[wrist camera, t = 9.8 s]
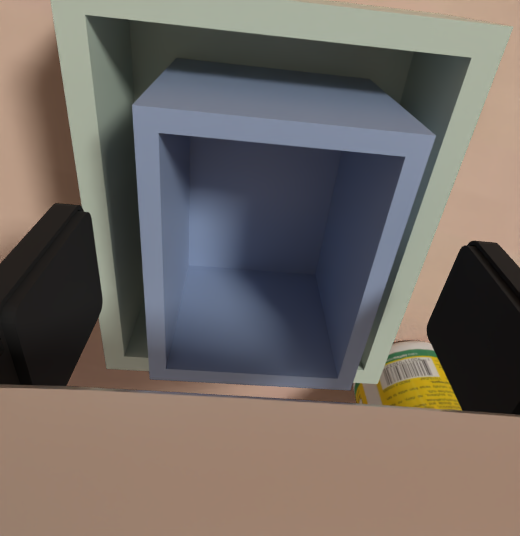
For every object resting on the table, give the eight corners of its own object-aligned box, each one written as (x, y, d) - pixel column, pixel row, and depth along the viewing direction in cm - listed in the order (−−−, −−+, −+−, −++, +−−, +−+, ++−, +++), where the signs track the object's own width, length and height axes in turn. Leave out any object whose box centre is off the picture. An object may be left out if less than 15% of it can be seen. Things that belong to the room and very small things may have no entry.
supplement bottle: (396, 321, 20) (491, 547, 12) (477, 360, 22) (608, 583, 14) (330, 388, 23) (372, 610, 15) (406, 418, 24) (482, 633, 16)
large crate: (440, 13, 13) (513, 26, 10) (354, 308, 20) (377, 384, 16) (107, -26, 13) (45, -29, 9) (134, 293, 19) (106, 369, 16)
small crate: (369, 78, 14) (436, 135, 9) (323, 278, 18) (350, 390, 13) (176, 57, 13) (131, 104, 8) (178, 267, 18) (149, 379, 13)
